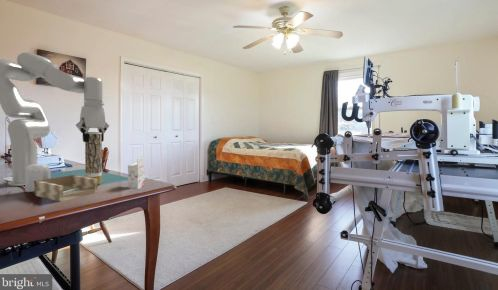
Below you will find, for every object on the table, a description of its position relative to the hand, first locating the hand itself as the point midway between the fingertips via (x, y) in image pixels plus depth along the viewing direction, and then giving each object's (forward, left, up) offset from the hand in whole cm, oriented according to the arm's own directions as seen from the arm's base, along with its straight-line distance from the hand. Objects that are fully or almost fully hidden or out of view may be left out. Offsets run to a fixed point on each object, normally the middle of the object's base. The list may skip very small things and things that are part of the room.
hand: (93, 141), depth 125 cm
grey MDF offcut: (+11, -16, -21) cm, 29 cm away
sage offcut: (+8, -16, -21) cm, 28 cm away
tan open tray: (+6, -16, -22) cm, 28 cm away
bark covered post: (0, 0, -21) cm, 21 cm away
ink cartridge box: (+17, +10, -23) cm, 30 cm away
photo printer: (-11, -18, -23) cm, 31 cm away
